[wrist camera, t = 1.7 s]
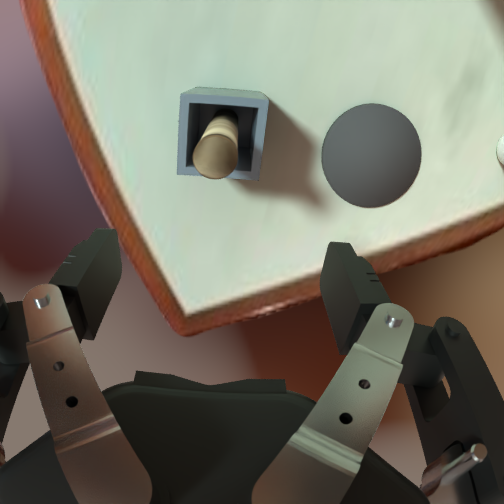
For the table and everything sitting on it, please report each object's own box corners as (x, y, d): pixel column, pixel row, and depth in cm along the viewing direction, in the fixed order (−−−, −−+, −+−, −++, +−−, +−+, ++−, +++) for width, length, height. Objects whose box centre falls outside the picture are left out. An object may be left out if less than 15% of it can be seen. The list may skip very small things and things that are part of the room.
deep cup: (195, 87, 33) (180, 93, 25) (261, 92, 34) (269, 100, 25) (191, 148, 37) (177, 174, 29) (254, 152, 38) (258, 180, 29)
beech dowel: (213, 107, 34) (193, 135, 20) (240, 109, 34) (239, 138, 21) (211, 132, 35) (191, 177, 22) (237, 134, 36) (235, 180, 22)
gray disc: (331, 93, 34) (333, 93, 33) (428, 118, 35) (431, 119, 34) (312, 198, 41) (313, 200, 41) (403, 210, 42) (405, 213, 42)
